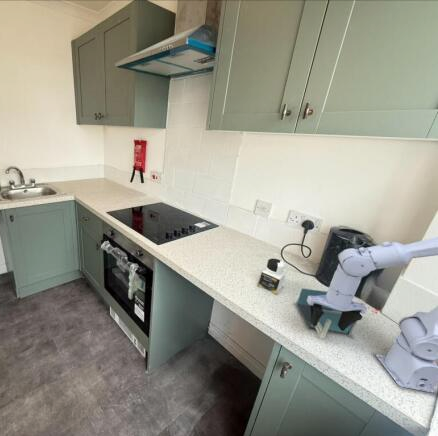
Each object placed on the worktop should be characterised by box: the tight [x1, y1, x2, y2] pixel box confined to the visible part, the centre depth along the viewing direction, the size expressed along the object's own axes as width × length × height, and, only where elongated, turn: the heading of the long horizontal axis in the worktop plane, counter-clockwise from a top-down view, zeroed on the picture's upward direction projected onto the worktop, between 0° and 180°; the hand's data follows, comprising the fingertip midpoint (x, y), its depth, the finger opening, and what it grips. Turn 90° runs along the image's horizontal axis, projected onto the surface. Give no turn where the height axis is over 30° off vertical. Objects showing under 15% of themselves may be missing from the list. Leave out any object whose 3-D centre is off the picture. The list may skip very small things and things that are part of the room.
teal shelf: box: [311, 309, 351, 340], centre depth 76 cm, size 5×10×7 cm, turn 79°
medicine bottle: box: [258, 258, 287, 294], centre depth 99 cm, size 7×7×12 cm
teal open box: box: [295, 287, 358, 337], centre depth 83 cm, size 12×12×8 cm
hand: (326, 325), depth 74 cm, fingers open, 7 cm apart
